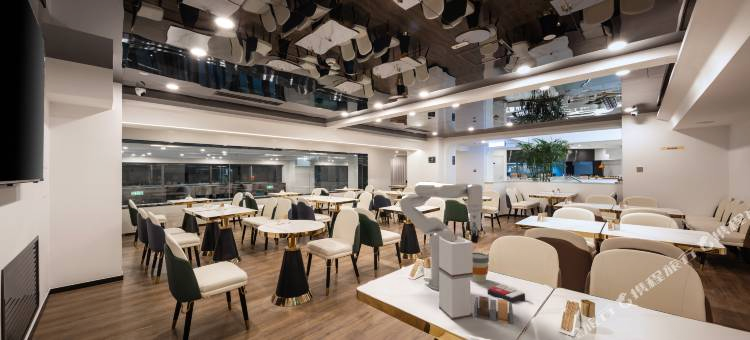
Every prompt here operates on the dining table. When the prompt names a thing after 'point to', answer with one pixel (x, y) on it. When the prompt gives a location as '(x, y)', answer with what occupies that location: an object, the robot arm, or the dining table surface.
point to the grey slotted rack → (493, 312)
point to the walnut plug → (483, 306)
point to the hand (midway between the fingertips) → (474, 240)
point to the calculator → (506, 293)
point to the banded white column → (455, 277)
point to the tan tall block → (502, 309)
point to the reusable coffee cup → (480, 267)
